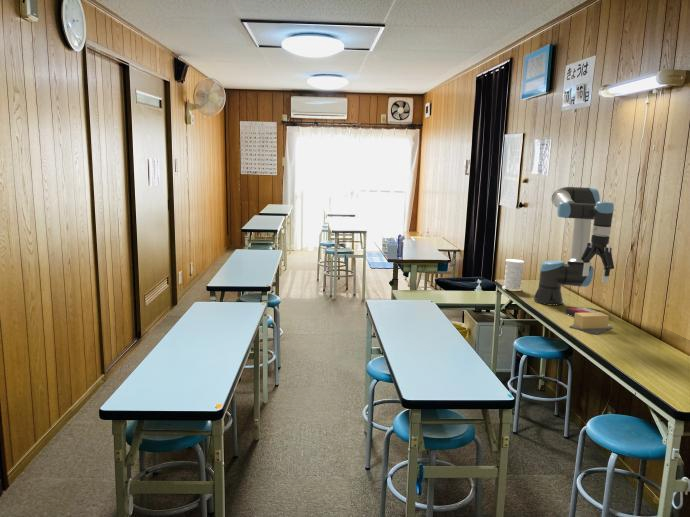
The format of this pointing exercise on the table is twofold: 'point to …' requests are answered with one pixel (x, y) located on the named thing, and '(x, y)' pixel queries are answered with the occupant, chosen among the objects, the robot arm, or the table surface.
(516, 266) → the decorative container
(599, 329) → the charcoal mat
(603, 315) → the ochre block
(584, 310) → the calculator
